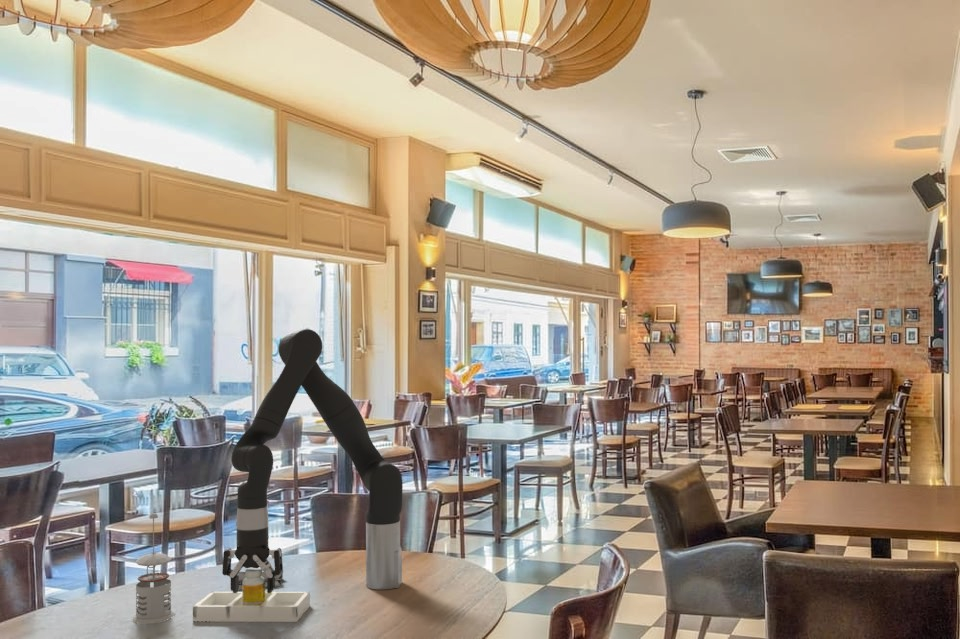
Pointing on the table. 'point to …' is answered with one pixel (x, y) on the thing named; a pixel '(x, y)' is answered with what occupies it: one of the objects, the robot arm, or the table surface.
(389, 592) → the table surface
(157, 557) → the french press
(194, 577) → the table surface
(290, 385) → the robot arm
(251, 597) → the supplement bottle
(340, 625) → the table surface
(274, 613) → the rack
